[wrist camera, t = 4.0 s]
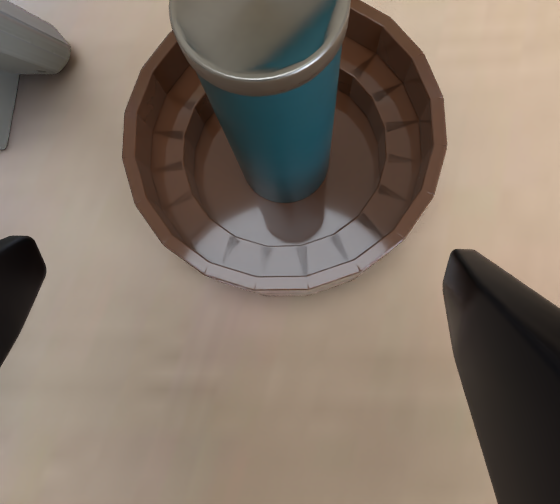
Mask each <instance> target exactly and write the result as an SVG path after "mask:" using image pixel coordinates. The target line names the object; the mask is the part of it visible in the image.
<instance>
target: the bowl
mask: <svg viewBox="0 0 560 504" xmlns="http://www.w3.org/2000/svg"><path fill="white" fill-rule="evenodd" d="M446 150H447V136H446V123H445V111H444V99H443V95H442V93H441V91H440V88H439V86H438V84H437V82H436V79H435V77H434V75H433V73H432V70H431V68H430V66H429V64H428V61H427V59H426V57H425V55H424V54H423V52H422V51H421V50H420V48H419V47H418V46H417V45H416V44H415V43H414V42H413V41H412V40H411V39H410V38H409V37H408V36H407V34H406V33H405V32H404V31H403V30H402V29H401V28H400V27H399V26H398V25H397V24H396V23H395V21H394V20H393V19H391V17H389V16H387V15H385V14H384V13H382V12H380V11H378V10H376V9H375V8H373V7H371V6H369V5H368V4H366V3H364V2H362V1H360V0H351V4H350V12H349V20H348V27H347V31H346V34H345V38H344V40H343V43H342V50H341V59H340V68H339V77H338V86H337V95H336V105H335V114H334V123H333V132H332V141H331V150H330V159H329V167H328V171H327V175H326V177H325V179H324V181H323V182H322V184H321V185H320V186H319V188H318V189H317V190H316V191H315V192H314V193H312V194H311V195H310V196H308V197H306V198H304V199H302V200H299V201H296V202H291V203H278V202H273V201H270V200H267V199H265V198H263V197H261V196H260V195H258V194H257V193H256V192H255V191H254V190H253V189H252V188H251V187H250V185H249V184H248V182H247V180H246V179H245V176H244V174H243V172H242V170H241V168H240V166H239V163H238V161H237V159H236V157H235V155H234V153H233V151H232V148H231V146H230V144H229V142H228V140H227V138H226V136H225V133H224V131H223V129H222V127H221V125H220V123H219V121H218V118H217V116H216V114H215V112H214V110H213V108H212V106H211V103H210V101H209V99H208V97H207V95H206V93H205V90H204V88H203V86H202V84H201V82H200V80H199V78H198V75H197V73H196V71H195V70H194V69H193V68H192V66H191V65H190V64H189V62H188V61H187V59H186V57H185V56H184V54H183V52H182V50H181V48H180V46H179V44H178V41H177V39H176V37H175V35H174V32H173V30H172V32H170V33H169V34H168V35H167V37H166V38H165V39H164V41H163V42H162V43H161V44H160V46H159V47H158V48H157V49H156V51H155V52H154V53H153V54H152V56H151V57H150V58H149V60H148V61H147V62H146V63H145V65H144V66H143V67H142V69H141V71H140V74H139V76H138V79H137V81H136V84H135V86H134V89H133V92H132V94H131V97H130V99H129V102H128V105H127V107H126V110H125V115H124V133H123V151H122V159H123V164H124V167H125V171H126V174H127V178H128V181H129V185H130V189H131V192H132V196H133V199H134V203H135V204H136V207H137V208H138V210H139V211H140V213H141V214H142V216H143V217H144V218H145V220H146V221H147V223H148V224H149V226H150V227H151V229H152V230H153V231H154V233H155V234H156V236H157V237H158V239H159V240H160V241H161V243H162V244H163V245H164V246H165V247H166V248H168V249H169V250H170V251H172V252H173V253H175V254H176V255H177V256H179V257H180V258H181V259H183V260H184V261H186V262H187V263H188V264H190V265H191V266H192V267H194V268H195V269H197V270H198V271H199V272H201V273H202V274H204V275H206V276H208V277H210V278H213V279H215V280H217V281H220V282H222V283H225V284H228V285H231V286H234V287H237V288H241V289H244V290H247V291H250V292H253V293H256V294H260V295H263V296H308V295H312V294H315V293H318V292H321V291H324V290H327V289H330V288H333V287H336V286H339V285H342V284H344V283H347V282H350V281H352V280H354V279H355V278H357V277H358V276H359V275H361V274H362V273H363V272H365V271H366V270H367V269H369V268H370V267H371V266H372V265H374V264H375V263H376V262H378V261H379V260H380V259H382V258H383V257H384V256H386V255H387V254H388V253H389V252H390V251H392V250H393V249H394V248H395V247H396V246H397V245H398V244H400V243H401V242H402V241H403V240H404V239H405V238H406V236H407V235H408V233H409V232H410V230H411V229H412V228H413V226H414V225H415V223H416V222H417V220H418V219H419V217H420V216H421V214H422V213H423V211H424V210H425V209H426V207H427V206H428V204H429V203H430V201H431V200H432V198H433V196H434V194H435V190H436V187H437V183H438V179H439V176H440V172H441V168H442V165H443V161H444V157H445V154H446Z"/></svg>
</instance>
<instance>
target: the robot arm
mask: <svg viewBox="0 0 560 504" xmlns="http://www.w3.org/2000/svg"><path fill="white" fill-rule="evenodd" d="M45 276H46V265H45V263H44V261H43V258H42V256H41V254H40V251H39V249H38V247H37V245H36V242H35V241H34V240H33V239H32V238H31V237H29V236H9V237H6V238H4V239H1V240H0V367H1V365H2V364H3V362H4V360H5V358H6V357H7V355H8V353H9V352H10V350H11V348H12V346H13V345H14V343H15V341H16V339H17V337H18V336H19V334H20V332H21V330H22V328H23V325H24V323H25V321H26V319H27V317H28V314H29V312H30V310H31V308H32V305H33V303H34V301H35V299H36V296H37V294H38V292H39V290H40V287H41V285H42V283H43V281H44V278H45ZM443 296H444V302H445V308H446V314H447V320H448V326H449V332H450V338H451V344H452V349H453V354H454V358H455V362H456V366H457V369H458V372H459V376H460V379H461V382H462V386H463V389H464V392H465V396H466V399H467V402H468V406H469V409H470V412H471V416H472V419H473V422H474V426H475V429H476V432H477V436H478V439H479V442H480V446H481V449H482V452H483V456H484V459H485V462H486V466H487V469H488V472H489V476H490V479H491V482H492V486H493V489H494V492H495V496H496V499H497V502H498V504H560V308H558V307H557V306H556V305H554V304H553V303H551V302H550V301H548V300H547V299H545V298H544V297H542V296H541V295H540V294H538V293H537V292H535V291H534V290H532V289H531V288H529V287H528V286H526V285H525V284H523V283H522V282H521V281H519V280H518V279H516V278H515V277H513V276H512V275H510V274H509V273H507V272H506V271H505V270H503V269H502V268H500V267H499V266H497V265H496V264H494V263H493V262H491V261H490V260H489V259H487V258H486V257H484V256H483V255H481V254H480V253H478V252H477V251H475V250H471V249H455V250H453V251H452V252H451V254H450V257H449V261H448V264H447V268H446V272H445V276H444V279H443Z"/></svg>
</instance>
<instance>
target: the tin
mask: <svg viewBox="0 0 560 504" xmlns="http://www.w3.org/2000/svg"><path fill="white" fill-rule="evenodd" d="M350 4H351V0H169V15H170V21H171V26H172V29H173V32H174V35H175V37H176V39H177V41H178V44H179V46H180V48H181V50H182V52H183V54H184V56H185V57H186V59H187V61H188V62H189V64H190V65H191V66H192V68H193V69H194V70H195V71H196V73H197V75H198V78H199V80H200V82H201V84H202V86H203V88H204V90H205V93H206V95H207V97H208V99H209V101H210V103H211V106H212V108H213V110H214V112H215V114H216V116H217V118H218V121H219V123H220V125H221V127H222V129H223V131H224V133H225V136H226V138H227V140H228V142H229V144H230V146H231V148H232V151H233V153H234V155H235V157H236V159H237V161H238V163H239V166H240V168H241V170H242V172H243V174H244V176H245V179H246V180H247V182H248V184H249V185H250V187H251V188H252V189H253V190H254V191H255V192H256V193H257V194H258V195H260V196H261V197H263V198H265V199H267V200H270V201H273V202H278V203H291V202H296V201H299V200H302V199H304V198H306V197H308V196H310V195H311V194H312V193H314V192H315V191H316V190H317V189H318V188H319V186H320V185H321V184H322V182H323V181H324V179H325V177H326V175H327V171H328V167H329V159H330V150H331V141H332V132H333V123H334V114H335V105H336V95H337V86H338V77H339V68H340V59H341V50H342V43H343V40H344V38H345V34H346V31H347V27H348V20H349V12H350Z"/></svg>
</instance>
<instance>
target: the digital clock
mask: <svg viewBox="0 0 560 504" xmlns="http://www.w3.org/2000/svg"><path fill="white" fill-rule="evenodd" d="M70 52H71V50H70V45H69V44H68V43H67V41H66V40H65V39H64V38H63V36H62V35H61V34H60V33H59V32H58V31H57V29H56V28H55V27H54V26H53V25H51V24H49V23H48V22H46V21H44V20H42V19H40V18H39V17H37V16H35V15H33V14H31V13H29V12H28V11H26V10H24V9H22V8H20V7H18V6H17V5H15V4H13V3H11V2H9V1H7V0H0V150H3V149H5V148H6V146H7V143H8V138H9V132H10V127H11V121H12V115H13V109H14V104H15V98H16V92H17V86H18V81H19V75H20V74H56V73H58V72H60V71H61V70H62V69H63V68H64V66H65V65H66V64H67V63H68V60H69V57H70Z"/></svg>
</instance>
